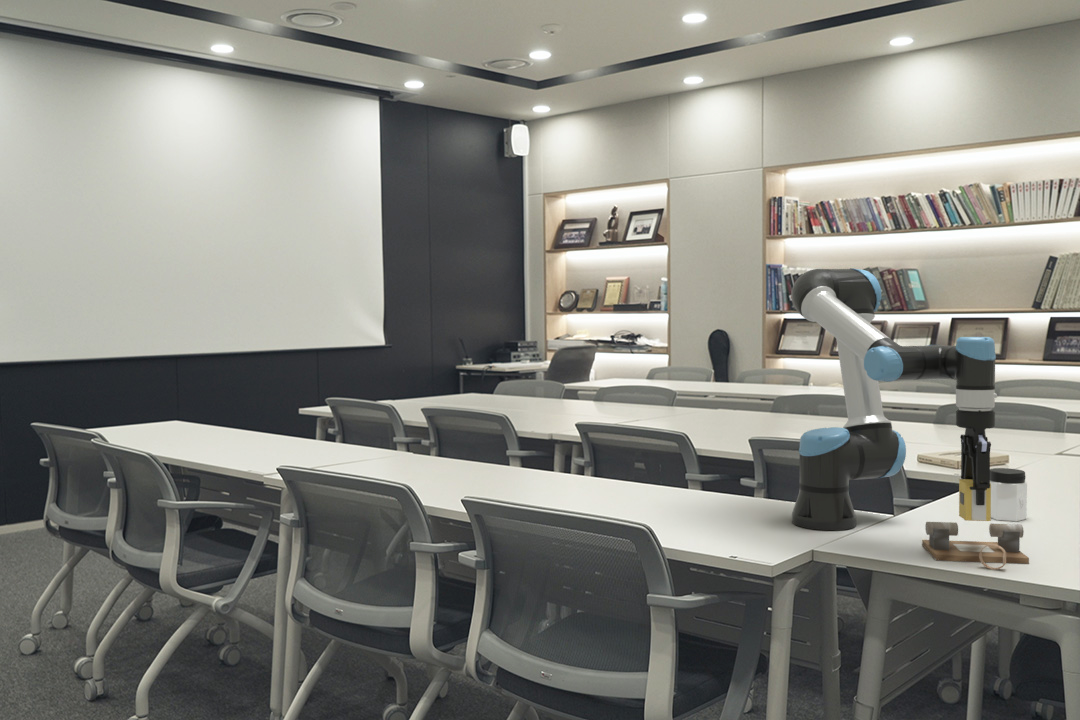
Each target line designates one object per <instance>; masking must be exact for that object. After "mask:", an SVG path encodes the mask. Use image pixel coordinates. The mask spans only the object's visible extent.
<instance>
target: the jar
mask: <svg viewBox="0 0 1080 720" xmlns="http://www.w3.org/2000/svg"><path fill="white" fill-rule="evenodd" d="M990 483H991V519H993V520H995V521H1004V522H1015V523H1017V522H1020V521H1024V520H1027V515H1028V514H1027V510H1028V509H1027V508H1028V507H1027V503H1028V499H1027V498H1028V482H1026V472H1025V470H1021V469H1017V468H1007V467H1006V468H1005V467H997V468H990Z"/></svg>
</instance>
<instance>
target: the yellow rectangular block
mask: <svg viewBox="0 0 1080 720" xmlns="http://www.w3.org/2000/svg"><path fill="white" fill-rule="evenodd" d="M958 481H959V482H958V483H959V484H958V487H959V488H958V489H959V490H958V491H959V492H958V495H959V497H958V504H959V506H958V514H959V515H958V516H959V517H960V518H961V519H962V520H964V521H966V522H967V521H968V522H969V521H971V522H972V521H975V522H992V521H991V520H992V518H991V483H990V488H987V490H986V520H972V519H971V513H972V490H970V487H973V479H961V478H959V479H958ZM982 483H983V482H982Z"/></svg>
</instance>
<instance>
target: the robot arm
mask: <svg viewBox="0 0 1080 720" xmlns="http://www.w3.org/2000/svg"><path fill="white" fill-rule="evenodd" d="M790 295H791V302H792V305H793V307H794V308H795V310H796V312H797V313H798V314H799V315H800V316H801V317H803V318H804V319H806V320H807V321H809V322H812V323H813V322H814V323H815V322H816V324H817V325H819V326H821V327H822V329H824V330H825V331H827V333H829V334H830V335H831V336H833V337H834V338H835V341H836V345H837V352H838V358H839V359H838V361H839V366H840V372H841V379H842V388H843V393H844V400H845V407H846V413H847V415H846V416H847V421H846V423H845V424H844V425H843V427H838V426H837V427H836V426H835V427H820V428H815V429H810V430H807V431H805V432H804V433H803V434H802V435H801V436H800V439H799V449H798V453H799V490H798V491H799V492H798V495H797V497H796V498H797V499H796V501H795V504H794V506H793V510H792V514H791V522H792V524H794V525H795V526H798V527H801V528H805V529H810V530H811V529H812V530H819V531H821V530H822V531H843V530H850V529H853V528H856V526H857V517H856V516H857V515H856V511H855V510H854V506H853V503H852V501H851V497H850V494H849V490H850V489H849V484H850V483H849V481H854V480H855V481H857V480H868V479H882V478H887V477H893V476H894V475H897V473H898V472H900V470H901V469H902V467H903V466H904V463H905V461H906V457H907V448H906V447H907V446H906V443H905V440H904V438H903V436H902V435H901V433H899V432H898V431H896V430H894V429H893V426H892V421H891V420H890V419H888V418H887V417H886V416H885V414H884V408H883V401H882V398H881V397H882V396H881V389H880V382H889V383H890V382H896V381H898V382H899V381H915V380H918V381H920V380H923V381H924V380H952V381H953V380H955V381H956V383H955V406H956V407H957V408H958V409H957V410H956V411H955V425H956V426H957V427H958V428H961V429H962V428H963V429H964V430H965V431H964V434H960V444H961V445H960V449H961V451H960V453H961V454H960V456H961V458H960V466H961V467H960V479H973V487H970V490H972V513H971V519H972V520H986V490H987V488H990V469H991V446H992V442H991V441H989V439H988V436H986V435H987V434H986V430H987V429H993V428H995V426H996V412H995V411H994V410H993V408H995V407H996V406H995V403H996V402H995V400H996V398H998V394H997V393H996V390H995V389H996V360H997V359H996V358H997V355H996V345H995V340H994V338H992V337H990V336H960V337H958V338H957V339H956V344H955V345H943V344H928V345H927V344H926V345H908V346H907V345H900V344H899V343H897V342H896V341H894V340H893V339H891V338H890V337H889V336H888V335H886V334H885V333H884V332H882V331H881V330H879V329H878V328H877V327H876V326H874V325H873V324H872V321H873V320H874V319H875V317H876V316H875V312H876V311H878V309H879V307H880V305H881V300H882V288H881V285H880V283H879V280H878V279H877V277H876V276H875V275H874V274H873V273H871V272H870V271H868V270H864V269H858V268H855V267H854V268H814V269H810V270H808V271H805V272H804V273H802V274H800V275H799V276H798V278H797V279H796V280H795V282H794V283H793V285H792V288H791V294H790ZM879 381H880V382H879ZM982 482H983V483H982Z"/></svg>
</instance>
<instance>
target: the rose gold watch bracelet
mask: <svg viewBox="0 0 1080 720" xmlns="http://www.w3.org/2000/svg"><path fill="white" fill-rule="evenodd" d="M987 546H996V547H998V548H1000V549H1001V550H1002V551H1003V564H1002V565H1000V566H998V567H992V566H989V565H988V564H986V562H984V561H983V559H982V550H983V549H984V548H985V547H987ZM979 558H980V561H981V562H980V563H981V565H983V566H984V567H985V568H987V569H989V570H992V571H995V570H996V571H997V570H1000V569H1002V568H1003V567H1004V566H1005V565H1006V564H1007V563H1006V552H1005V550H1004V549H1003V548H1002V547H1001V546H998V545H996V544H988V545H986V546H984V547H983V548H982V549H981V551H980V554H979Z"/></svg>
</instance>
